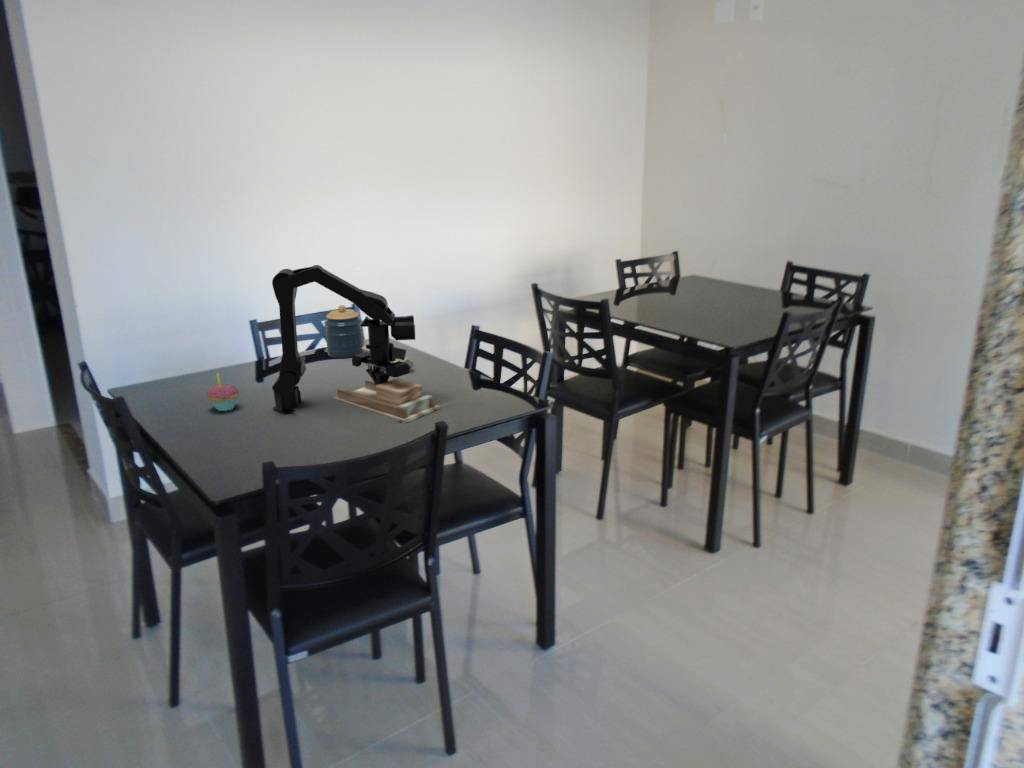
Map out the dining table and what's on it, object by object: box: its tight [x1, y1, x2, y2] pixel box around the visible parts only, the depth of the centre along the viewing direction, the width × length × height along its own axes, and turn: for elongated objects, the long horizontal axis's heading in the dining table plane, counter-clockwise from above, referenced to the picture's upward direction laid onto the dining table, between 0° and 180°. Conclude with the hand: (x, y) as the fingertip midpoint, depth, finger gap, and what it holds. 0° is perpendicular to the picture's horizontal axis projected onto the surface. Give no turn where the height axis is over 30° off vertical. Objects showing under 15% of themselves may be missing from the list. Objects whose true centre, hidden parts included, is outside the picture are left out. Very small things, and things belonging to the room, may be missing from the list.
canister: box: [323, 304, 365, 359], centre depth 262 cm, size 13×13×18 cm
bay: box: [333, 378, 441, 425], centre depth 214 cm, size 14×30×4 cm, turn 51°
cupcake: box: [207, 372, 240, 412], centre depth 211 cm, size 9×8×12 cm
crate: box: [375, 377, 423, 406], centre depth 209 cm, size 8×10×6 cm
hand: (382, 392), depth 214 cm, fingers closed
